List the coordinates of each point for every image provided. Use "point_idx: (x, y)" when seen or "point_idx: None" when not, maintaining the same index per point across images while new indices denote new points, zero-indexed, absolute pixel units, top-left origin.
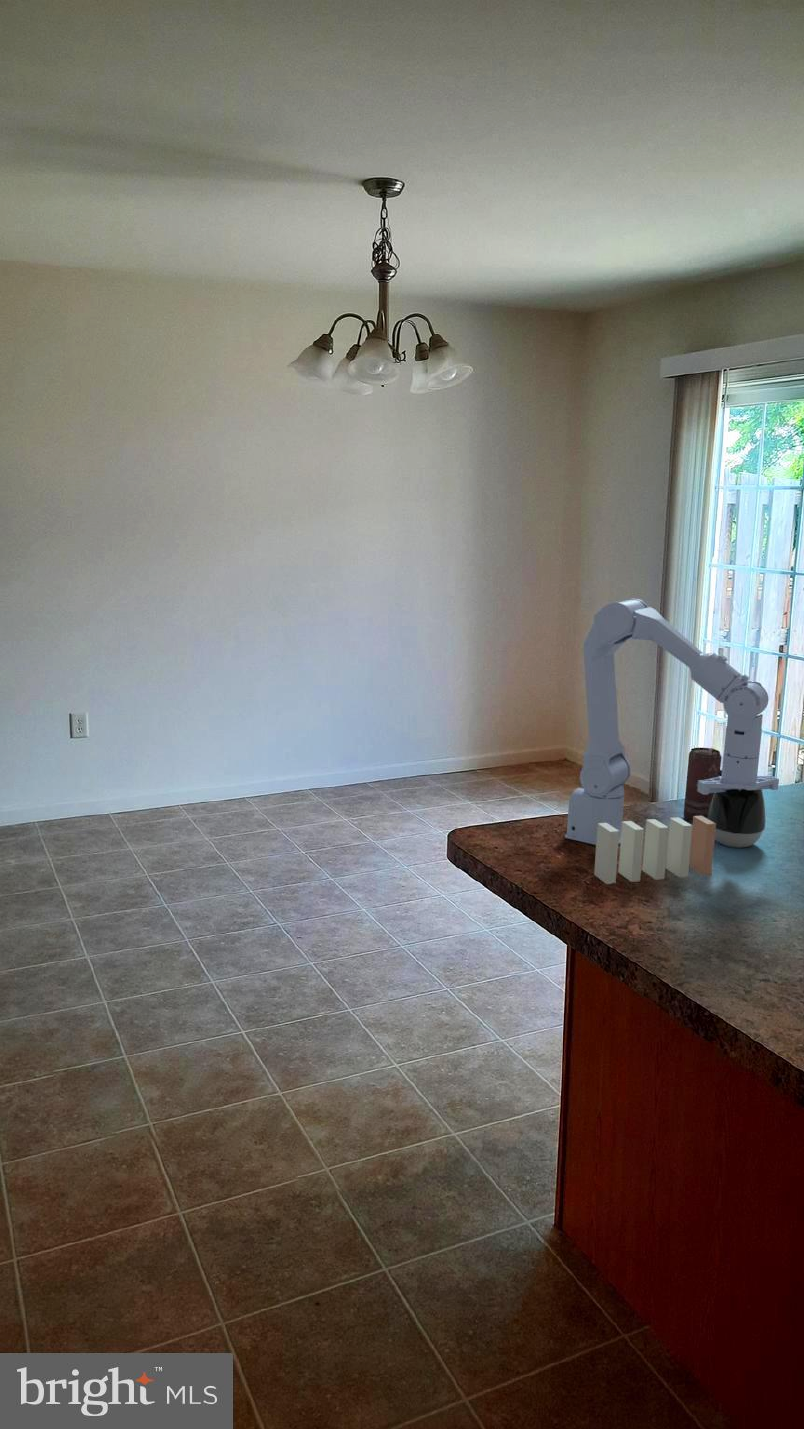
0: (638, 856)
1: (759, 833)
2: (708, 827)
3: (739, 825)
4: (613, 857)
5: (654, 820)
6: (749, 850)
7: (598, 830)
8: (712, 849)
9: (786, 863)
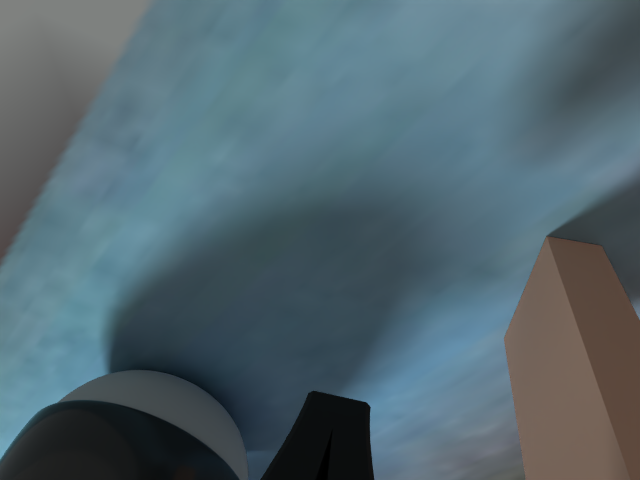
0: None
1: (79, 396)
2: None
3: (326, 448)
4: None
5: None
6: (156, 350)
7: None
8: (593, 341)
9: (72, 198)
